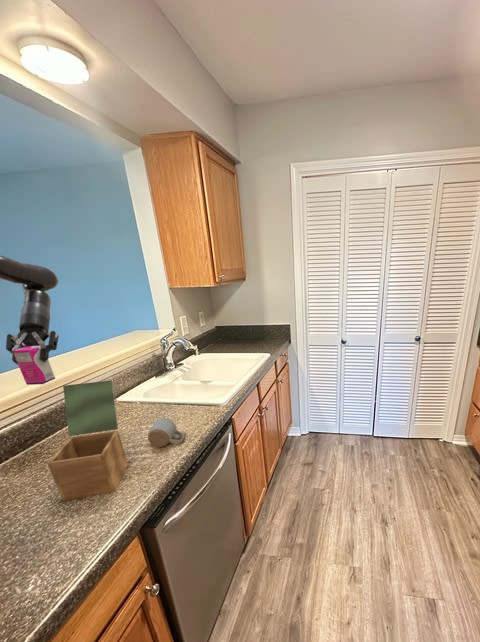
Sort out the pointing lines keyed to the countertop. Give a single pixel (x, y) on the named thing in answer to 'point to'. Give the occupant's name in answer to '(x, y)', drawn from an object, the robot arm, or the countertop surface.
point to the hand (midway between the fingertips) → (30, 361)
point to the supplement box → (33, 365)
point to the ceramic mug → (163, 433)
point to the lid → (90, 407)
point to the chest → (89, 465)
